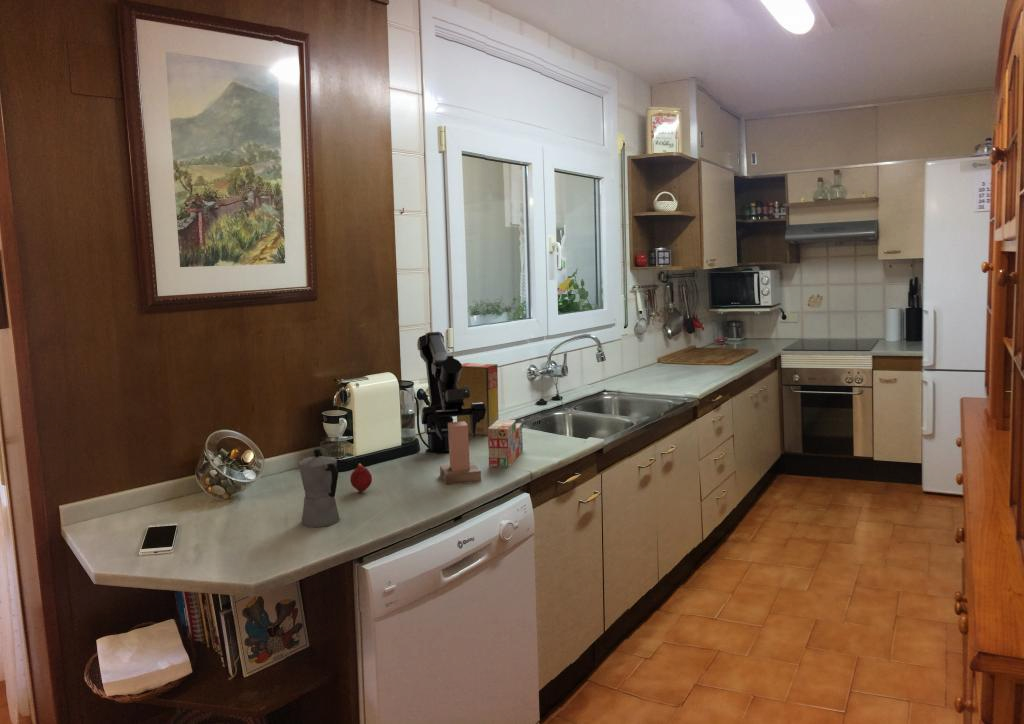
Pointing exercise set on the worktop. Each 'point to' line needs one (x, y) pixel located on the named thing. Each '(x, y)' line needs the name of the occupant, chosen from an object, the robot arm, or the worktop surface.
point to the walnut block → (460, 475)
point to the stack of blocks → (504, 442)
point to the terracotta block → (458, 446)
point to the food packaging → (480, 393)
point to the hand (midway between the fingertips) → (458, 437)
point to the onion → (361, 478)
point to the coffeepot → (319, 490)
